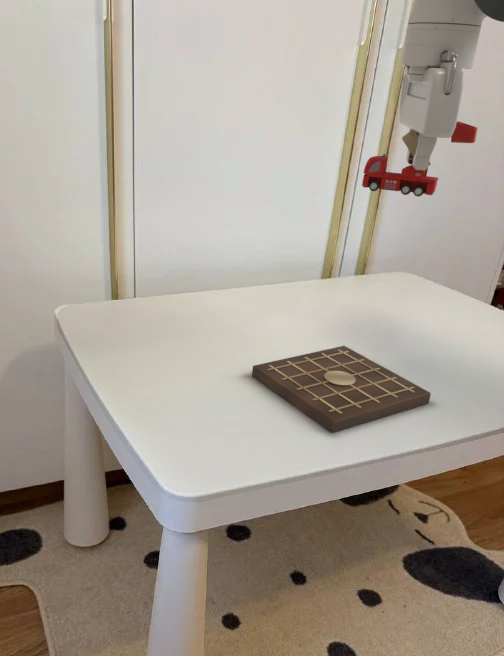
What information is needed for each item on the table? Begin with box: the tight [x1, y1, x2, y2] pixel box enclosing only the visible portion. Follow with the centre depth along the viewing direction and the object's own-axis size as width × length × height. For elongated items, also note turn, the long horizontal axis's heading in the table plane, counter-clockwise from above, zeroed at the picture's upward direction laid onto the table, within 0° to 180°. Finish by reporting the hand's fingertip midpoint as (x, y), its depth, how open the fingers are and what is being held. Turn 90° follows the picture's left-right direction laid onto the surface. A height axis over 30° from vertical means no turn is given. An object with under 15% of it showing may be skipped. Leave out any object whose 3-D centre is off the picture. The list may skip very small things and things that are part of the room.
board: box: [251, 345, 432, 433], centre depth 81 cm, size 16×16×2 cm
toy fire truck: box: [361, 120, 478, 197], centre depth 87 cm, size 3×14×10 cm, turn 65°
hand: (415, 166), depth 87 cm, fingers closed on toy fire truck, 4 cm apart
